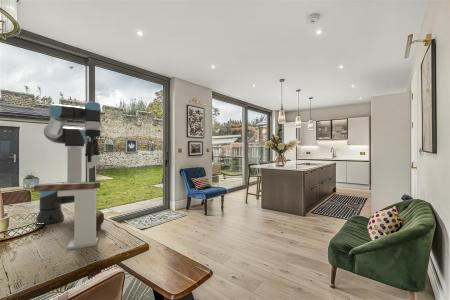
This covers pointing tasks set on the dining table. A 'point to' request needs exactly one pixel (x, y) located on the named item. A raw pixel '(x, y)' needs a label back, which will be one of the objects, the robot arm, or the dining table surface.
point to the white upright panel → (83, 217)
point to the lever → (66, 186)
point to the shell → (99, 219)
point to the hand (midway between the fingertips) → (92, 167)
